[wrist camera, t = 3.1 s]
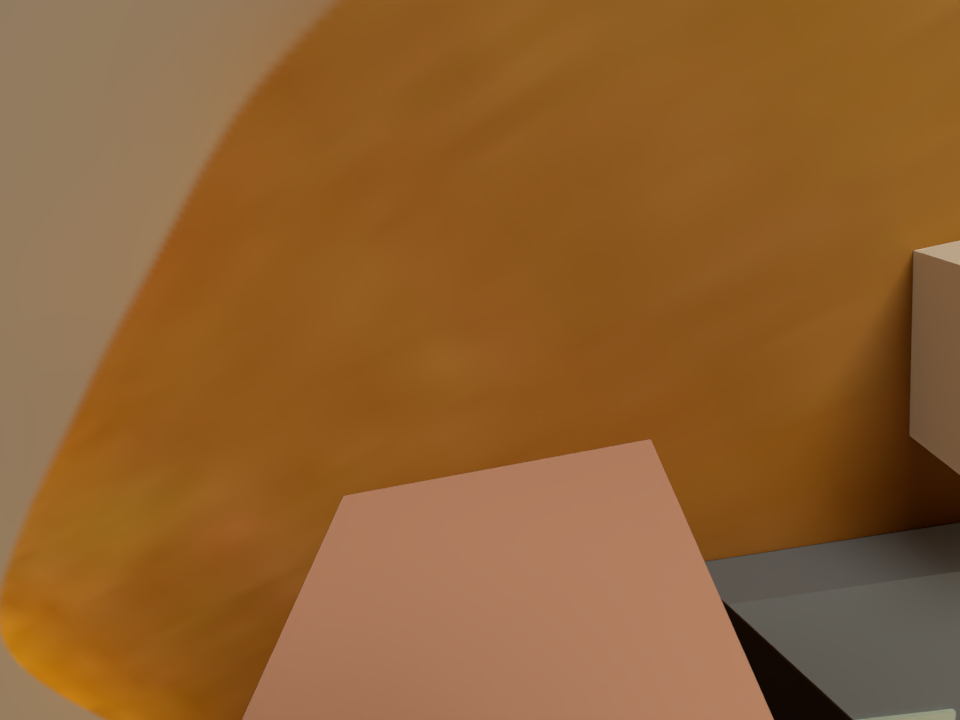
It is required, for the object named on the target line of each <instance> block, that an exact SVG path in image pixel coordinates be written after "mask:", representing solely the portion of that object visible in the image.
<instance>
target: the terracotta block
mask: <svg viewBox="0 0 960 720" xmlns="http://www.w3.org/2000/svg"><path fill="white" fill-rule="evenodd" d="M242 720H774V719H773V717H772V714H771V712H770V710H769V708H768V705H767V703H766V701H765V698H764V696H763V694H762V692H761V689H760V687H759V685H758V682H757V680H756V678H755V676H754V673H753V671H752V669H751V667H750V664H749V662H748V660H747V657H746V655H745V653H744V651H743V648H742V646H741V644H740V642H739V639H738V637H737V635H736V632H735V630H734V628H733V626H732V623H731V621H730V619H729V617H728V614H727V612H726V610H725V607H724V605H723V603H722V601H721V598H720V596H719V594H718V591H717V589H716V587H715V585H714V582H713V580H712V578H711V576H710V573H709V571H708V569H707V566H706V564H705V562H704V560H703V557H702V555H701V553H700V551H699V548H698V546H697V544H696V541H695V539H694V537H693V535H692V532H691V530H690V528H689V526H688V523H687V521H686V519H685V516H684V514H683V512H682V510H681V507H680V505H679V503H678V500H677V498H676V496H675V494H674V491H673V489H672V487H671V485H670V482H669V480H668V478H667V475H666V473H665V471H664V469H663V466H662V464H661V462H660V460H659V457H658V455H657V453H656V450H655V448H654V446H653V444H652V441H651V439H649V440H644V441H638V442H633V443H628V444H622V445H617V446H611V447H606V448H601V449H595V450H590V451H584V452H579V453H574V454H568V455H563V456H557V457H552V458H546V459H541V460H536V461H530V462H525V463H519V464H514V465H509V466H503V467H498V468H492V469H487V470H482V471H476V472H471V473H465V474H460V475H455V476H449V477H444V478H438V479H433V480H427V481H422V482H417V483H411V484H406V485H400V486H395V487H390V488H384V489H379V490H373V491H368V492H363V493H357V494H352V495H346V496H343V499H342V501H341V503H340V505H339V507H338V510H337V512H336V514H335V516H334V518H333V521H332V523H331V525H330V527H329V529H328V532H327V534H326V536H325V538H324V540H323V543H322V545H321V547H320V549H319V551H318V554H317V556H316V558H315V560H314V562H313V565H312V567H311V569H310V571H309V573H308V576H307V578H306V580H305V582H304V584H303V587H302V589H301V591H300V593H299V595H298V598H297V600H296V602H295V604H294V606H293V609H292V611H291V613H290V615H289V617H288V620H287V622H286V624H285V626H284V628H283V631H282V633H281V635H280V637H279V639H278V642H277V644H276V646H275V648H274V650H273V653H272V655H271V657H270V659H269V661H268V664H267V666H266V668H265V670H264V672H263V675H262V677H261V679H260V681H259V683H258V686H257V688H256V690H255V692H254V694H253V697H252V699H251V701H250V703H249V705H248V708H247V710H246V712H245V714H244V716H243V719H242Z"/></svg>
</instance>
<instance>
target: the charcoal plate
mask: <svg viewBox="0 0 960 720" xmlns="http://www.w3.org/2000/svg"><path fill="white" fill-rule="evenodd" d="M705 564H706V566H707V569H708V571H709V573H710V576H711V578H712V580H713V582H714V585H715V587H716V589H717V591H718V594H719V596H720V598H721V599H722V600H723V601H724V602H725V603H727V604H728V605H729V606H730V607H731V608H732V609H733V610H734V611H735V612H736V613H737V614H739V615H740V616H741V617H742V618H743V619H744V620H745V621H746V622H747V623H748V624H749V625H751V626H752V627H753V628H754V629H755V630H756V631H757V632H758V633H759V634H760V635H761V636H763V637H764V638H765V639H766V640H767V641H768V642H769V643H770V644H771V645H772V646H773V647H775V648H776V649H777V650H778V651H779V652H780V653H781V654H782V655H783V656H784V657H785V658H787V659H788V660H789V661H790V662H791V663H792V664H793V665H794V666H795V667H796V668H797V669H799V670H800V671H801V672H802V673H803V674H804V675H805V676H806V677H807V678H808V679H809V680H811V681H812V682H813V683H814V684H815V685H816V686H817V687H818V688H819V689H820V690H821V691H823V692H824V693H825V694H826V695H827V696H828V697H829V698H830V699H831V700H832V701H833V702H835V703H836V704H837V705H838V706H839V707H840V708H841V709H842V710H843V711H844V712H845V713H847V714H848V715H849V716H850V717H851V718H852V719H853V720H960V523H954V524H947V525H941V526H934V527H928V528H921V529H915V530H908V531H902V532H895V533H889V534H882V535H876V536H869V537H863V538H856V539H850V540H843V541H837V542H830V543H824V544H817V545H811V546H804V547H798V548H791V549H785V550H779V551H772V552H766V553H759V554H753V555H746V556H740V557H733V558H727V559H720V560H714V561H707V562H705Z"/></svg>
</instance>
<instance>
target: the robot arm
mask: <svg viewBox="0 0 960 720" xmlns="http://www.w3.org/2000/svg"><path fill="white" fill-rule="evenodd" d="M721 601H722V603H723V605H724V607H725V610H726V612H727V614H728V617H729V619H730V621H731V623H732V626H733V628H734V630H735V632H736V635H737V637H738V639H739V642H740V644H741V646H742V648H743V651H744V653H745V655H746V657H747V660H748V662H749V664H750V667H751V669H752V671H753V673H754V676H755V678H756V680H757V682H758V685H759V687H760V689H761V692H762V694H763V696H764V698H765V701H766V703H767V705H768V708H769V710H770V712H771V714H772V717H773V719H774V720H853V719H852V718H851V717H850V716H849V715H848V714H847V713H845V712H844V711H843V710H842V709H841V708H840V707H839V706H838V705H837V704H836V703H835V702H833V701H832V700H831V699H830V698H829V697H828V696H827V695H826V694H825V693H824V692H823V691H821V690H820V689H819V688H818V687H817V686H816V685H815V684H814V683H813V682H812V681H811V680H809V679H808V678H807V677H806V676H805V675H804V674H803V673H802V672H801V671H800V670H799V669H797V668H796V667H795V666H794V665H793V664H792V663H791V662H790V661H789V660H788V659H787V658H785V657H784V656H783V655H782V654H781V653H780V652H779V651H778V650H777V649H776V648H775V647H773V646H772V645H771V644H770V643H769V642H768V641H767V640H766V639H765V638H764V637H763V636H761V635H760V634H759V633H758V632H757V631H756V630H755V629H754V628H753V627H752V626H751V625H749V624H748V623H747V622H746V621H745V620H744V619H743V618H742V617H741V616H740V615H739V614H737V613H736V612H735V611H734V610H733V609H732V608H731V607H730V606H729V605H728V604H727V603H725V602H724V601H723V600H722V599H721Z"/></svg>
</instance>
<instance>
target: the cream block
mask: <svg viewBox="0 0 960 720" xmlns="http://www.w3.org/2000/svg"><path fill="white" fill-rule="evenodd" d="M909 436H911V437H912V438H913V439H914V440H916V441H917V442H918V443H919V444H921V445H922V446H923V447H925V448H926V449H927V450H928V451H930V452H931V453H932V454H934V455H935V456H936V457H937V458H939V459H940V460H941V461H942V462H944V463H945V464H946V465H948V466H949V467H950V468H951V469H953V470H954V471H955V472H957V473H958V474H959V475H960V241H956V242H951V243H946V244H942V245H937V246H932V247H928V248H923V249H918V250H914V251H913V293H912V338H911V383H910V429H909Z"/></svg>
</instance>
